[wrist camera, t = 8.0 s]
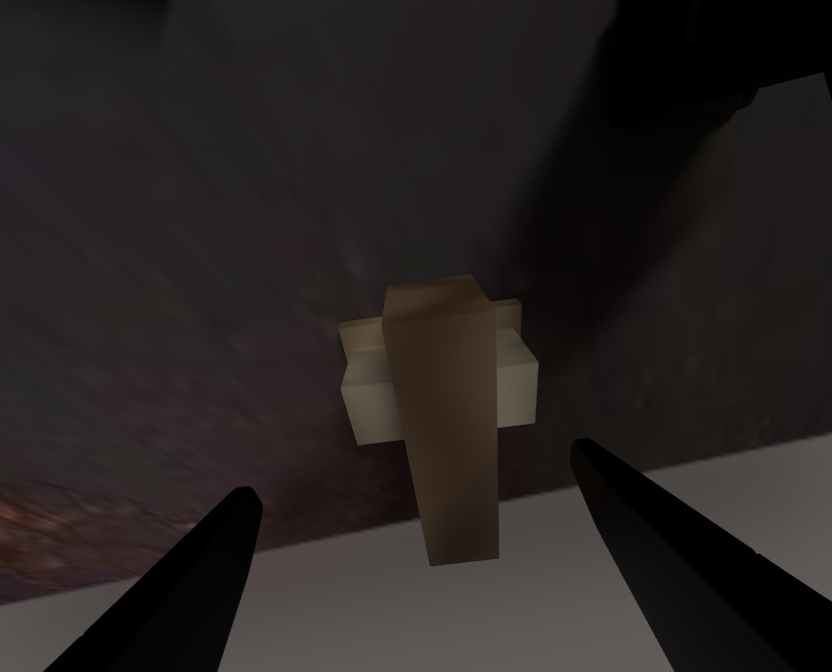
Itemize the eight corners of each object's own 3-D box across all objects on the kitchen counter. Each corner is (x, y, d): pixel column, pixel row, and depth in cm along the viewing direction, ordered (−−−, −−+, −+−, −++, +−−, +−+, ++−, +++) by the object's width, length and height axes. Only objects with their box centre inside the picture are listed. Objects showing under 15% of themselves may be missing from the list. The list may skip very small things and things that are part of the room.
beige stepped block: (516, 298, 19) (550, 334, 15) (514, 388, 22) (542, 441, 18) (341, 321, 19) (322, 364, 15) (364, 408, 22) (354, 464, 18)
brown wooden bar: (470, 274, 13) (496, 310, 10) (481, 488, 19) (499, 558, 16) (387, 285, 13) (381, 325, 10) (425, 495, 20) (430, 566, 16)
